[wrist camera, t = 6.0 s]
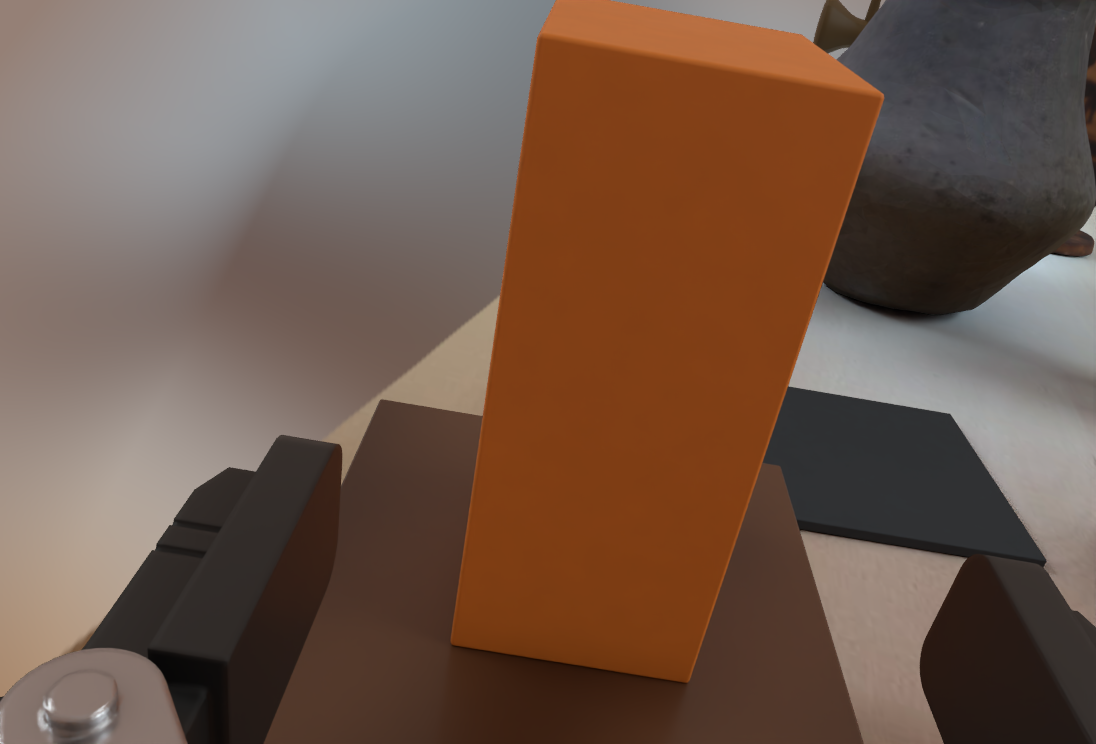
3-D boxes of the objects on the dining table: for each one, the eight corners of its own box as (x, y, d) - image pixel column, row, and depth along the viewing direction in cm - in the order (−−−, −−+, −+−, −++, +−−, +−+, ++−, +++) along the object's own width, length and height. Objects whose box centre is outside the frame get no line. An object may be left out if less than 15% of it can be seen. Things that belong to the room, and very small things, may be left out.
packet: (449, 646, 18) (537, 31, 12) (485, 477, 23) (559, -10, 18) (689, 685, 18) (887, 94, 12) (671, 507, 23) (804, 34, 18)
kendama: (781, 151, 99) (837, -43, 89) (868, 171, 97) (934, -25, 88) (778, 163, 94) (836, -42, 84) (869, 184, 92) (940, -23, 82)
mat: (717, 516, 37) (720, 506, 37) (693, 378, 48) (695, 370, 47) (1042, 570, 37) (1047, 560, 37) (947, 421, 48) (950, 413, 48)
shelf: (230, 987, 19) (223, 743, 15) (364, 600, 30) (379, 397, 26) (771, 1069, 19) (896, 850, 16) (714, 656, 30) (780, 465, 26)
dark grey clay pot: (722, 295, 59) (841, -132, 47) (765, 212, 77) (858, -110, 65) (1050, 387, 54) (1275, -61, 42) (1012, 276, 72) (1160, -58, 60)
